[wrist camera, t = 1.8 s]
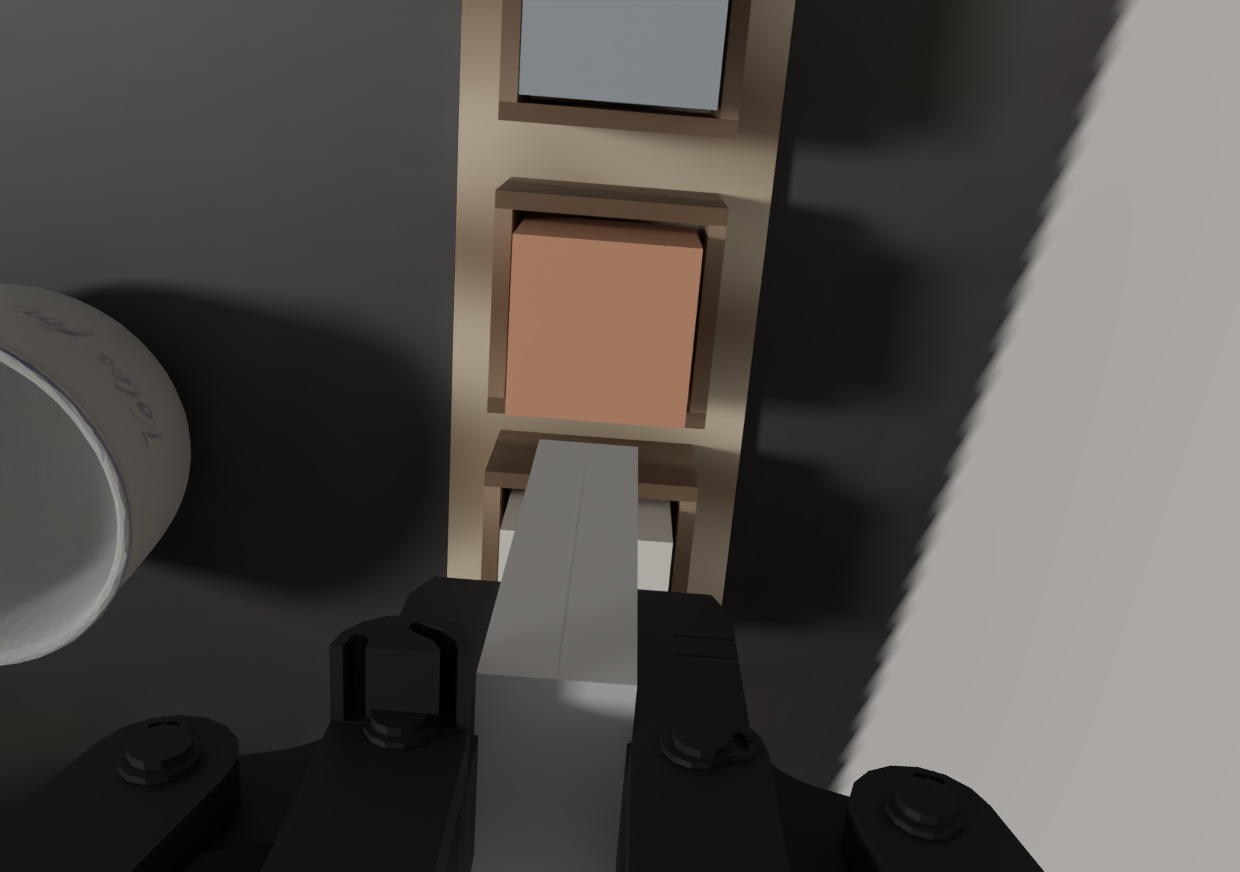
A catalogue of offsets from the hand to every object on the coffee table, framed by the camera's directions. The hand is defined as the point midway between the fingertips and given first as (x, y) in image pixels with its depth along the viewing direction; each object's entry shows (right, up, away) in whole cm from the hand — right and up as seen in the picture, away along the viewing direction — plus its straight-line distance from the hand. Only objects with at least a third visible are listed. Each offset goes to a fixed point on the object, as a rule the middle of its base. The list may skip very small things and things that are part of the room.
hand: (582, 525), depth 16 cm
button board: (0, +6, +19) cm, 20 cm away
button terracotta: (0, +5, +16) cm, 17 cm away
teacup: (-20, +3, +21) cm, 29 cm away
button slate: (+1, +13, +13) cm, 19 cm away
